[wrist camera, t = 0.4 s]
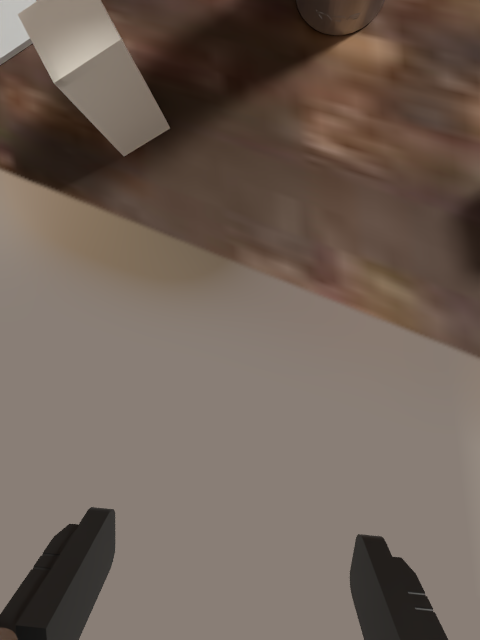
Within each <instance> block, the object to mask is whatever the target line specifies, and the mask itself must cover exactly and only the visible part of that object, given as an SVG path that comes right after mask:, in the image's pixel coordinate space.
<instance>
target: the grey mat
mask: <svg viewBox="0 0 480 640" xmlns="http://www.w3.org/2000/svg"><path fill="white" fill-rule="evenodd" d="M35 2H36V0H0V65H1V64H3V63H4V62H6V61H7V60H9V59H10V58H12V57H13V56H15V55H16V54H18V53H19V52H21V51H22V50H24V49H25V48H27V47H28V46H30V45H31V44H33V43H32V41H31V39H30V37H29V35H28V33H27V31H26V30H25V28H24V26H23V24H22V22H21V20H20V18H19V16H18V14H19V13H20V12H22V11H23V10H25V9H26V8H28V7H29V6H31V5H32V4H34V3H35Z"/></svg>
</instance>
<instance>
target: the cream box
mask: <svg viewBox="0 0 480 640" xmlns="http://www.w3.org/2000/svg"><path fill="white" fill-rule="evenodd" d="M18 16H19V18H20V20H21V22H22V24H23V26H24V28H25V30H26V31H27V33H28V35H29V37H30V39H31V41H32V43H33V45H34V47H35V48H36V50H37V52H38V54H39V56H40V58H41V60H42V62H43V64H44V65H45V67H46V69H47V71H48V73H49V75H50V77H51V79H52V81H53V83H54V84H55V85H56V86H57V87H58V88H59V89H60V90H61V91H62V92H63V93H64V94H65V95H66V96H67V97H68V99H69V100H70V101H71V102H72V103H73V104H74V105H75V106H76V107H77V108H78V109H79V110H80V111H81V112H82V113H83V114H84V115H85V116H86V117H87V118H88V120H89V121H90V122H91V123H92V124H93V125H94V126H95V127H96V128H97V129H98V130H99V131H100V132H101V133H102V134H103V135H104V136H105V137H106V138H107V139H108V141H109V142H110V143H111V144H112V145H113V146H114V147H115V148H116V149H117V150H118V151H119V152H120V153H121V154H122V155H123V156H126V155H127V154H129V153H131V152H132V151H134V150H136V149H137V148H139V147H141V146H142V145H144V144H145V143H147V142H149V141H150V140H152V139H154V138H155V137H157V136H159V135H160V134H162V133H163V132H165V131H167V130H168V129H170V127H169V125H168V123H167V121H166V119H165V117H164V115H163V113H162V112H161V110H160V108H159V106H158V104H157V102H156V100H155V99H154V97H153V95H152V93H151V91H150V89H149V87H148V86H147V84H146V82H145V80H144V78H143V76H142V74H141V73H140V71H139V69H138V67H137V65H136V64H135V62H134V60H133V58H132V56H131V54H130V53H129V51H128V49H127V47H126V45H125V44H124V42H123V40H122V38H121V36H120V34H119V33H118V31H117V29H116V27H115V25H114V23H113V22H112V20H111V18H110V16H109V14H108V13H107V11H106V9H105V7H104V5H103V3H102V2H101V0H38V1H36V2H35V3H34V4H32V5H31V6H29V7H28V8H26V9H25V10H23V11H22V12H20V13H19V14H18Z"/></svg>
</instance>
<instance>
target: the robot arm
mask: <svg viewBox="0 0 480 640" xmlns="http://www.w3.org/2000/svg"><path fill="white" fill-rule="evenodd" d="M296 3H297V7H298V10H299V12H300V14H301V16H302V18H303V19H304V20H305V21H306V22H307V23H308V24H309V25H310V26H311V27H313V28H314V29H315V30H317V31H320V32H322V33H324V34H330V35H345V34H349V33H353V32H355V31H357V30H359V29H362V28H363V27H364V26H366V25H367V24H368V23H370V22H371V21H372V20H373V19H374V18H375V16H376V15H377V14H378V12H379V11H380V9H381V8H382V6H383V3H384V0H296ZM114 553H115V511H114V510H113V509H104V508H94V507H91V508H90V509H89V510H88V511H87V513H86V514H85V516H84V517H83V519H82V521H81V522H80V524H79V525H76V524H69V525H68V526H67V527H66V528H64V529H63V530H62V531H60V532H59V533H58V534H57V535H56V536H54V538H53V539H52V540H51V542H50V543H49V545H48V546H47V548H46V549H45V551H44V552H43V555H42V556H40V558H39V559H38V561H37V562H36V564H35V565H34V568H33V570H31V571H30V572H29V574H28V575H27V577H26V578H25V580H24V581H23V582H22V584H21V585H20V587H19V588H18V590H17V591H16V593H15V594H14V596H13V597H12V599H11V600H10V601H9V603H8V604H7V606H6V607H5V609H4V610H3V612H2V613H1V614H0V640H79V638H80V636H81V633H82V631H83V629H84V627H85V624H86V622H87V620H88V617H89V615H90V613H91V611H92V609H93V606H94V604H95V602H96V600H97V597H98V595H99V593H100V591H101V589H102V586H103V584H104V582H105V580H106V577H107V575H108V573H109V570H110V568H111V565H112V562H113V558H114ZM350 588H351V593H352V598H353V601H354V605H355V609H356V612H357V615H358V619H359V623H360V626H361V630H362V634H363V637H364V640H448V638H447V636H446V634H445V633H444V630H443V628H442V626H441V624H440V622H439V620H438V618H437V616H436V614H435V613H434V612H433V608H432V606H431V604H430V602H429V600H428V598H427V596H425V592H424V590H423V588H422V586H421V584H420V582H419V580H418V578H417V575H416V574H415V573H414V571H413V570H412V569H411V568H410V567H409V566H408V565H407V564H406V562H405V561H404V560H403V559H402V558H399V557H392V555H391V553H390V551H389V548H388V547H387V544H386V542H385V540H384V538H383V537H380V536H369V535H359V534H358V535H357V537H356V542H355V548H354V553H353V558H352V564H351V570H350Z"/></svg>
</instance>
